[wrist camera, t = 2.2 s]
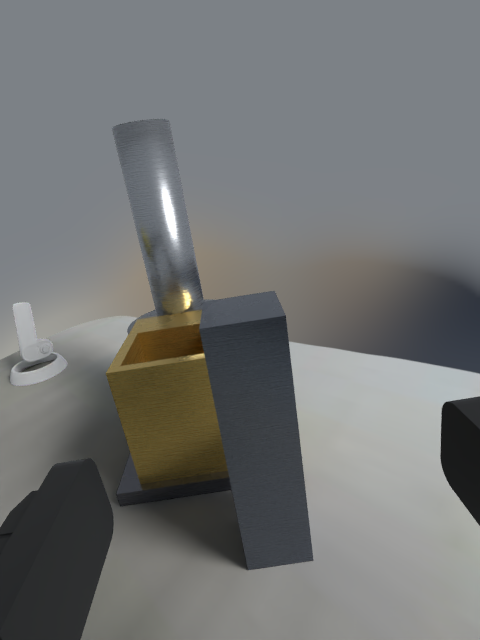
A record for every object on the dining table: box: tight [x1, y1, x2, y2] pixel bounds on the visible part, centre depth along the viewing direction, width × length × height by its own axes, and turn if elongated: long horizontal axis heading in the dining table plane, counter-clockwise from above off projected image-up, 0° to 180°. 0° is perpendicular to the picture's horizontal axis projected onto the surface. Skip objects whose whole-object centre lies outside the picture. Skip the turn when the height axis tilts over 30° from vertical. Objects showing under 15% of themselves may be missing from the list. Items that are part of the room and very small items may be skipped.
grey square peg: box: [199, 291, 313, 570], centre depth 22 cm, size 4×4×16 cm
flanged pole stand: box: [106, 119, 232, 506], centre depth 33 cm, size 19×11×27 cm, turn 3°
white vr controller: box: [10, 302, 67, 386], centre depth 56 cm, size 8×12×7 cm
